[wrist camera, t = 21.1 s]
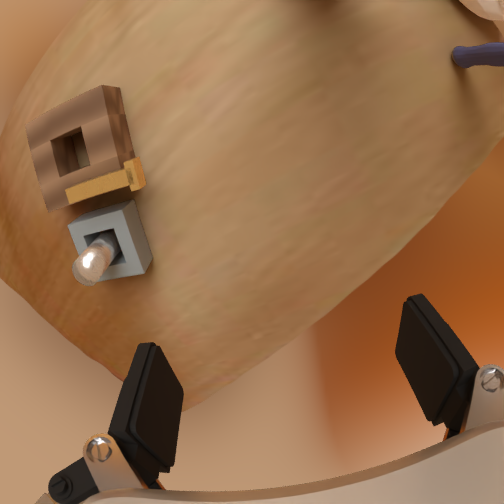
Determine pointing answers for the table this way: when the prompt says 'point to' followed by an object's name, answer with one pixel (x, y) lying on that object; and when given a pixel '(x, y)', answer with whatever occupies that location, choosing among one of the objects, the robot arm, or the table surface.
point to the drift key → (109, 182)
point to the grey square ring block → (128, 234)
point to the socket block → (95, 136)
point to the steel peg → (96, 258)
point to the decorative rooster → (486, 8)
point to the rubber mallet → (479, 55)
